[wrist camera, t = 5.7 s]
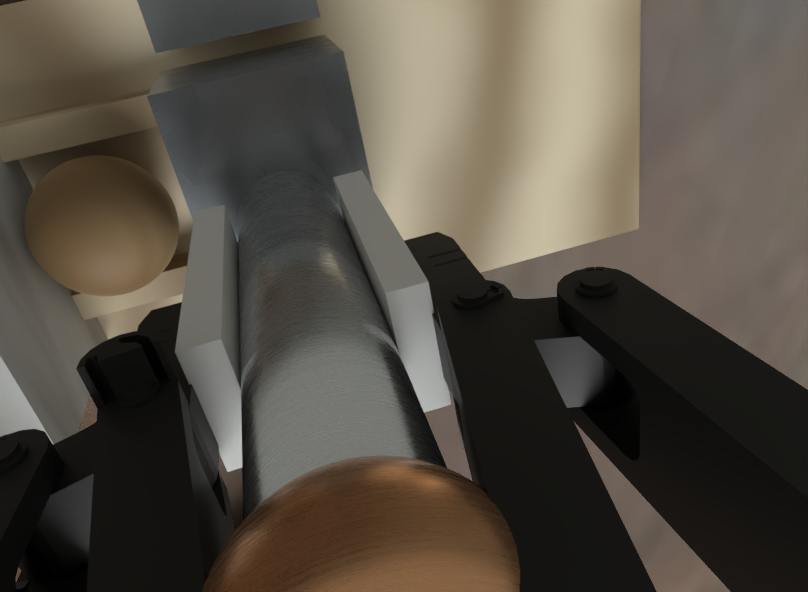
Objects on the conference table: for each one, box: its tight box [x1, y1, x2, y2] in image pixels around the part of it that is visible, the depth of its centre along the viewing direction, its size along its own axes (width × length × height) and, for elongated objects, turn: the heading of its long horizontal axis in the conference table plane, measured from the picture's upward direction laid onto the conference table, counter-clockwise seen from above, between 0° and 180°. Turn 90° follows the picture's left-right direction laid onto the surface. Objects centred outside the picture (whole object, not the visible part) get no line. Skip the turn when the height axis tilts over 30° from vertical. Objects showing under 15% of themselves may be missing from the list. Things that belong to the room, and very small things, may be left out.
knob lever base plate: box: [0, 0, 641, 444], centre depth 20 cm, size 28×13×8 cm, turn 100°
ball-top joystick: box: [137, 0, 520, 592], centre depth 14 cm, size 5×12×20 cm, turn 10°
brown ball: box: [24, 155, 179, 296], centre depth 20 cm, size 4×4×4 cm
